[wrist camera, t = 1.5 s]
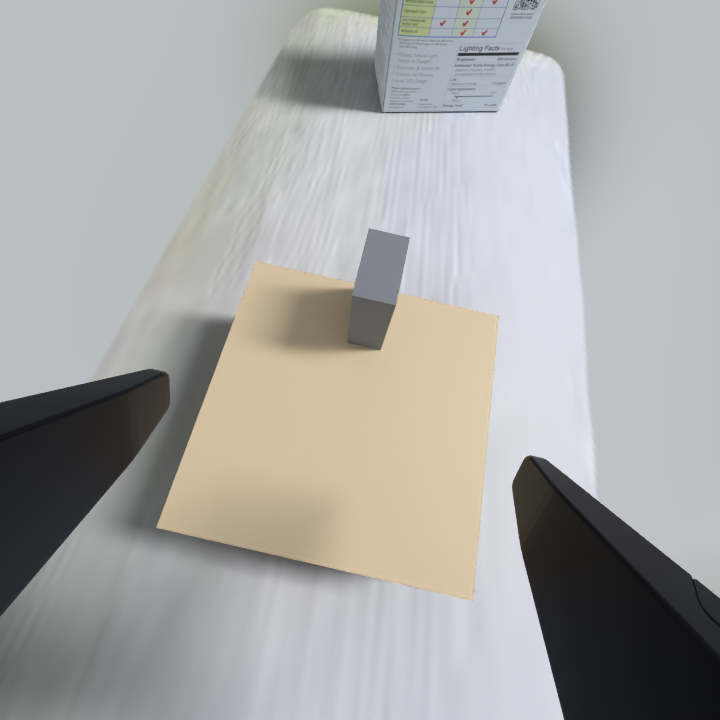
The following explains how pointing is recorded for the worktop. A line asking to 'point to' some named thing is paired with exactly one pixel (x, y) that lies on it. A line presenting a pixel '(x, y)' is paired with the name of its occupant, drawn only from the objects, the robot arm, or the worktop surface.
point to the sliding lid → (345, 427)
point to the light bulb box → (450, 52)
